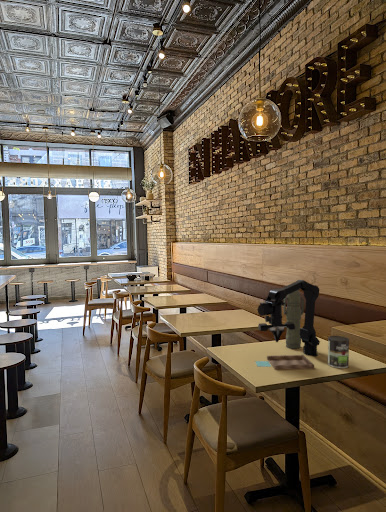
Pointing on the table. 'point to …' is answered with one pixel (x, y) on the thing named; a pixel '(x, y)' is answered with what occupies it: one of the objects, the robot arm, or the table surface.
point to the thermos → (293, 319)
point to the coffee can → (338, 351)
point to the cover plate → (263, 364)
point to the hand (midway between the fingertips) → (276, 342)
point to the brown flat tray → (290, 362)
